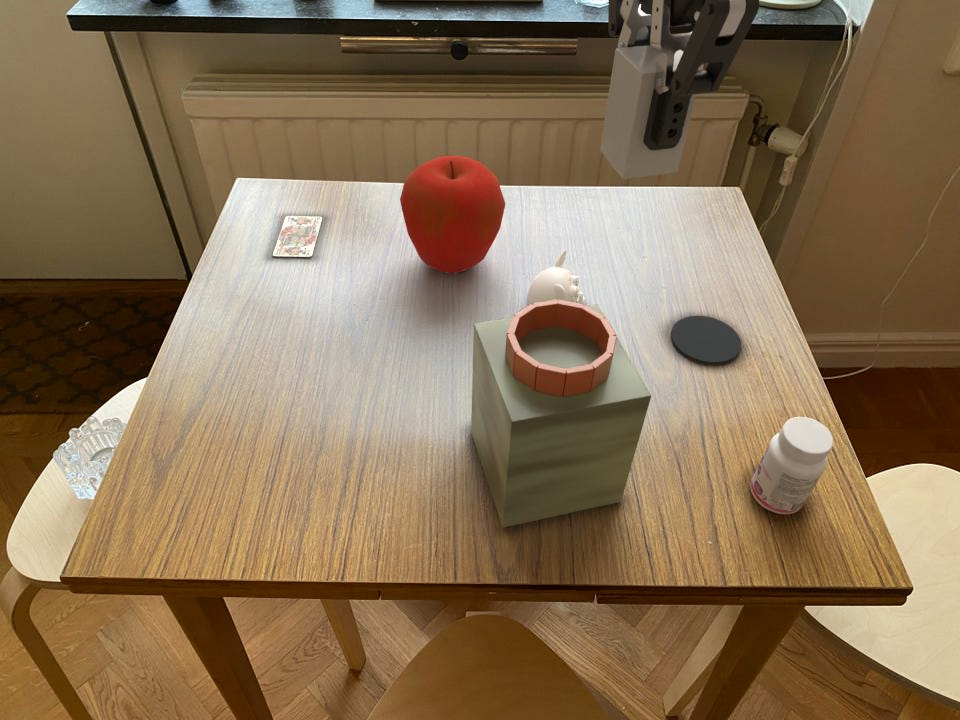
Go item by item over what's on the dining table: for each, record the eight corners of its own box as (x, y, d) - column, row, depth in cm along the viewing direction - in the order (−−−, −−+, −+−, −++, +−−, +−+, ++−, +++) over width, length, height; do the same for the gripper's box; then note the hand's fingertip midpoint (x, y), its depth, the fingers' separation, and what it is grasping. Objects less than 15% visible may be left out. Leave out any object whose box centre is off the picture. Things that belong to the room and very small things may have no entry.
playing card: (311, 256, 87) (311, 256, 87) (272, 256, 87) (272, 256, 87) (322, 216, 94) (322, 216, 94) (286, 216, 94) (285, 215, 93)
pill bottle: (747, 468, 66) (776, 408, 60) (800, 477, 65) (834, 417, 59) (750, 510, 63) (781, 451, 57) (806, 520, 62) (843, 462, 56)
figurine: (582, 340, 78) (590, 294, 73) (524, 336, 78) (528, 289, 74) (581, 295, 84) (588, 249, 79) (527, 290, 84) (531, 244, 79)
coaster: (753, 358, 77) (754, 355, 76) (689, 370, 75) (690, 367, 75) (719, 313, 82) (720, 311, 81) (659, 323, 80) (659, 321, 80)
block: (677, 172, 47) (703, 67, 42) (622, 180, 46) (642, 73, 41) (651, 144, 50) (673, 42, 45) (599, 150, 49) (615, 47, 44)
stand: (621, 502, 63) (651, 395, 53) (502, 528, 61) (511, 422, 51) (577, 411, 70) (597, 303, 61) (470, 431, 68) (473, 323, 58)
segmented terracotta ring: (627, 385, 54) (633, 362, 52) (524, 404, 52) (526, 381, 50) (588, 316, 59) (592, 293, 58) (494, 331, 58) (495, 308, 56)
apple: (489, 303, 82) (493, 197, 72) (390, 286, 84) (382, 180, 74) (510, 243, 91) (517, 141, 81) (420, 228, 92) (416, 127, 83)
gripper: (869, -177, 30) (751, 178, 43) (708, -218, 40) (649, 80, 52) (713, -175, 29) (637, 193, 41) (585, -218, 39) (553, 90, 51)
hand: (644, 128), depth 47 cm, fingers closed on block, 4 cm apart
